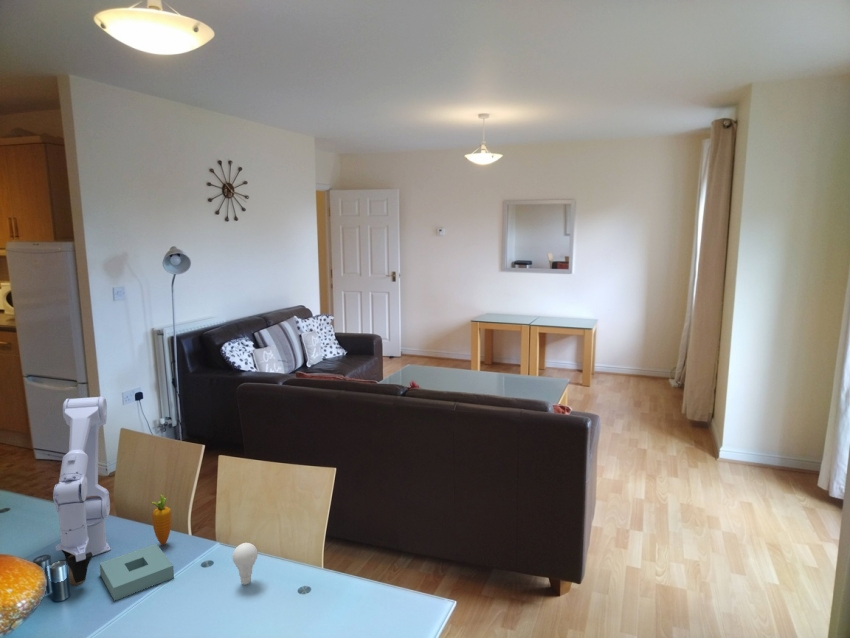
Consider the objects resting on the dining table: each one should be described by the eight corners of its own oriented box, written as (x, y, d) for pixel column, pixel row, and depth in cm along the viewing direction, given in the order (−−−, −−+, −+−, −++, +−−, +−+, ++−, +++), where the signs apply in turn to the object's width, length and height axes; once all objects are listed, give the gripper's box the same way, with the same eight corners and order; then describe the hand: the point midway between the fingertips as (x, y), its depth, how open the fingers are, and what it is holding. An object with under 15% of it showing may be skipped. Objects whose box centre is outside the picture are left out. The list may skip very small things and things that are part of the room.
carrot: (165, 551, 154) (162, 501, 152) (150, 548, 155) (147, 499, 153) (176, 541, 159) (174, 493, 157) (161, 539, 160) (159, 492, 158)
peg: (68, 580, 140) (66, 555, 139) (83, 575, 142) (81, 551, 141) (71, 587, 137) (69, 561, 136) (86, 581, 140) (84, 556, 139)
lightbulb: (263, 580, 141) (262, 541, 140) (246, 594, 136) (245, 553, 134) (245, 574, 144) (244, 535, 142) (228, 587, 138) (226, 547, 137)
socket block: (100, 575, 142) (99, 562, 142) (156, 555, 152) (156, 543, 151) (114, 601, 132) (113, 587, 132) (173, 577, 142) (173, 565, 141)
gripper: (49, 519, 140) (53, 568, 142) (60, 542, 130) (64, 594, 132) (81, 511, 145) (84, 557, 147) (93, 532, 134) (97, 582, 136)
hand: (77, 574), depth 140 cm, fingers open, 7 cm apart
